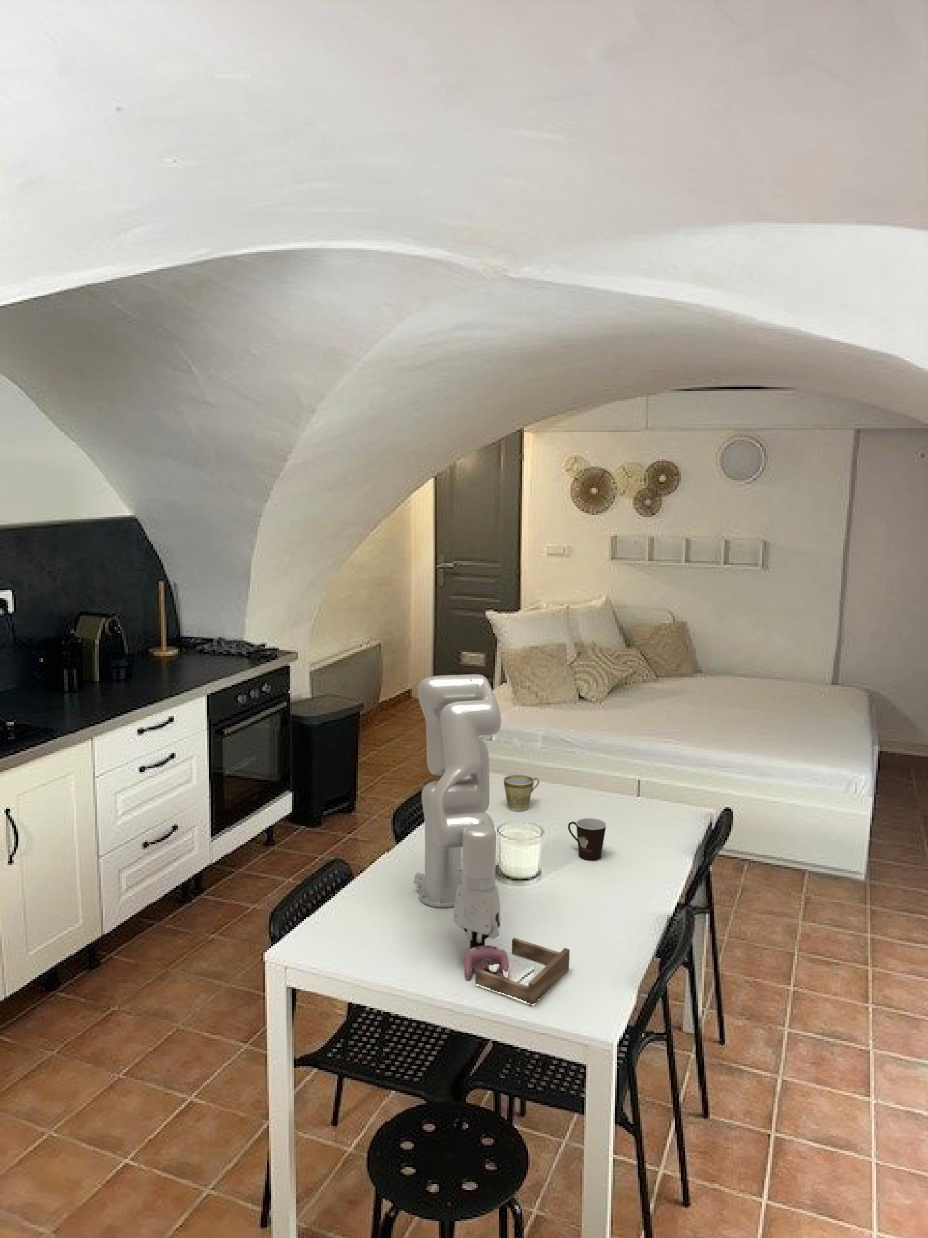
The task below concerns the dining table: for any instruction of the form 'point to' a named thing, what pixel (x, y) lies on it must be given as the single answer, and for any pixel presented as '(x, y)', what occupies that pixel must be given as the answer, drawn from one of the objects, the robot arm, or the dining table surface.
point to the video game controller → (484, 958)
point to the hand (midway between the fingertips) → (477, 955)
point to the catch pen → (540, 982)
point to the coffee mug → (589, 838)
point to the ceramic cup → (519, 791)
